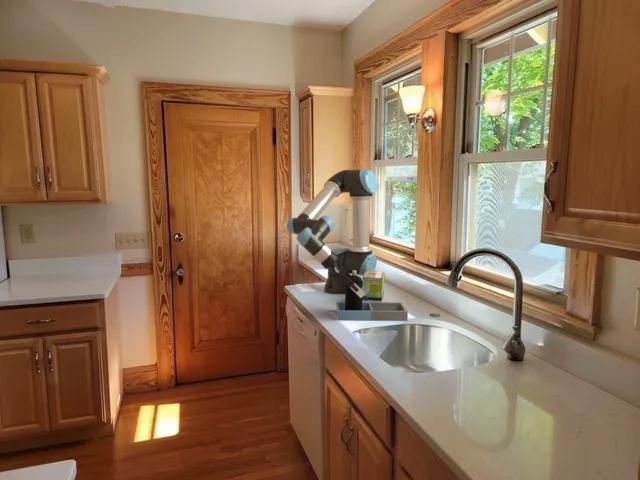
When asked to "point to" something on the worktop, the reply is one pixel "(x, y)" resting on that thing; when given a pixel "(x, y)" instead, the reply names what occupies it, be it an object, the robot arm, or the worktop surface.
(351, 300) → the black bottle
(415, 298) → the worktop surface
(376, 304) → the tray
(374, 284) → the tea box
